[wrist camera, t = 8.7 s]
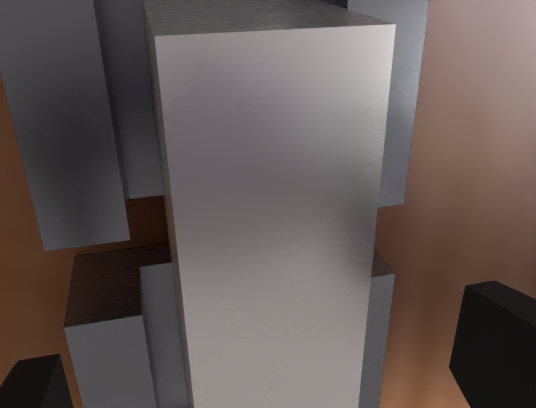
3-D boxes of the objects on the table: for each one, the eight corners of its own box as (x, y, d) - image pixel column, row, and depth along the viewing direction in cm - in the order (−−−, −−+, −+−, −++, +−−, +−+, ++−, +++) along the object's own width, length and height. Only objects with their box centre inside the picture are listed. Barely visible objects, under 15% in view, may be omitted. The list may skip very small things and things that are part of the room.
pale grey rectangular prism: (280, -12, 11) (396, 24, 6) (280, 364, 16) (345, 538, 12) (140, -7, 11) (154, 35, 6) (185, 382, 16) (212, 575, 11)
